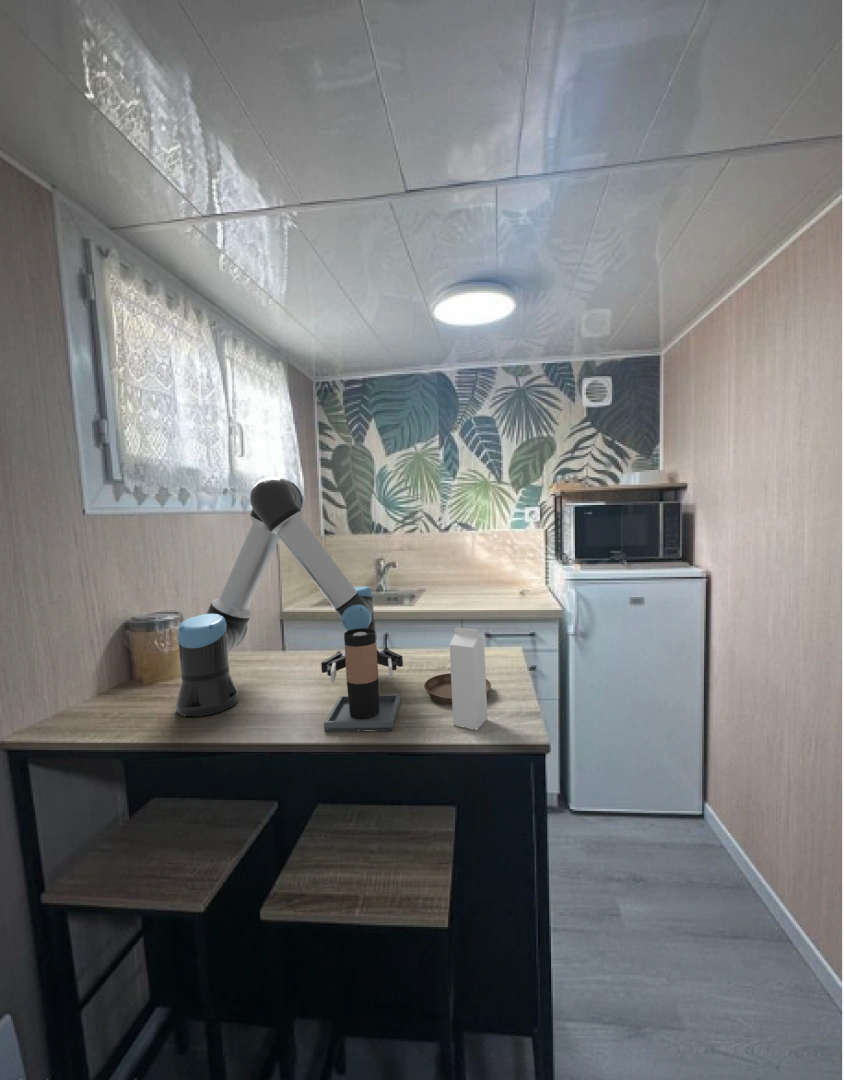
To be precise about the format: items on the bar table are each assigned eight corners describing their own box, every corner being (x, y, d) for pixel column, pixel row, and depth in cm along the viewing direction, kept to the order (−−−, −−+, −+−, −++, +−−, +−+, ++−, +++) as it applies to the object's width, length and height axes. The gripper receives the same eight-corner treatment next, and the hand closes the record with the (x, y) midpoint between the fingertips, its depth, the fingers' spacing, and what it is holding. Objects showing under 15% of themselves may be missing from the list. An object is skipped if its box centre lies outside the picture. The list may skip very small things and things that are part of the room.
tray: (324, 731, 110) (324, 722, 110) (340, 703, 126) (340, 695, 125) (392, 730, 109) (391, 721, 109) (400, 702, 125) (399, 694, 124)
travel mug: (342, 713, 118) (337, 632, 116) (368, 703, 123) (363, 626, 121) (360, 723, 112) (355, 638, 111) (386, 712, 117) (382, 631, 116)
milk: (464, 715, 115) (460, 624, 114) (488, 720, 112) (484, 626, 111) (452, 725, 110) (448, 630, 109) (477, 731, 107) (472, 633, 106)
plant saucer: (502, 689, 131) (501, 678, 131) (471, 714, 116) (471, 702, 116) (446, 679, 141) (445, 668, 140) (411, 701, 126) (411, 689, 126)
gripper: (408, 658, 136) (415, 685, 115) (318, 665, 133) (308, 694, 112) (407, 632, 135) (413, 654, 114) (316, 638, 133) (306, 663, 112)
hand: (361, 674), depth 113 cm, fingers open, 13 cm apart
